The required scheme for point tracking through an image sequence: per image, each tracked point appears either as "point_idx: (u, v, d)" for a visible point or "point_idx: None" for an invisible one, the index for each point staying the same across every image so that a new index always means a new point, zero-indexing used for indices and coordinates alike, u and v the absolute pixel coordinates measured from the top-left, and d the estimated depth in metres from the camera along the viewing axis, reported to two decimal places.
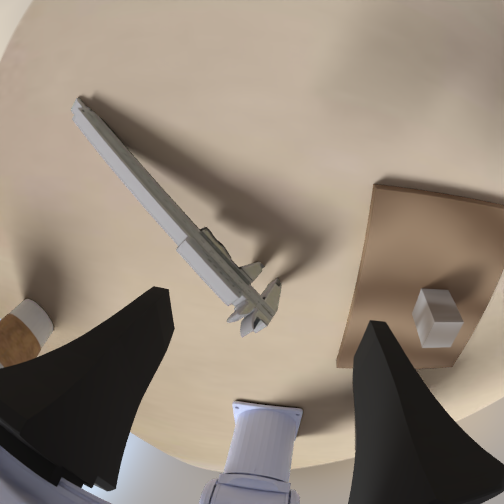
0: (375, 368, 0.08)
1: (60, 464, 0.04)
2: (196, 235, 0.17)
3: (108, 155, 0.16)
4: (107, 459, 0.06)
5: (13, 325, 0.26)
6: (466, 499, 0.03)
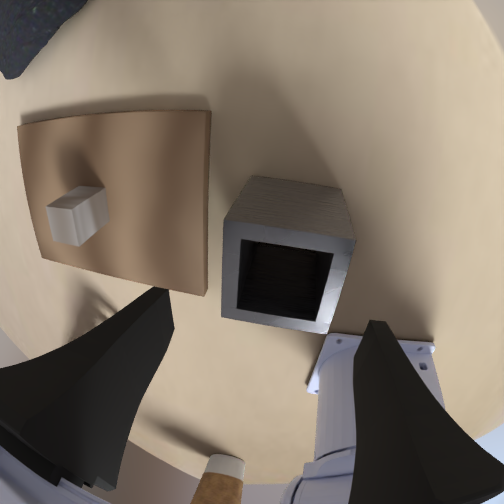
0: (375, 368, 0.08)
1: (60, 464, 0.04)
2: None
3: None
4: (107, 459, 0.06)
5: (202, 479, 0.35)
6: (466, 499, 0.03)
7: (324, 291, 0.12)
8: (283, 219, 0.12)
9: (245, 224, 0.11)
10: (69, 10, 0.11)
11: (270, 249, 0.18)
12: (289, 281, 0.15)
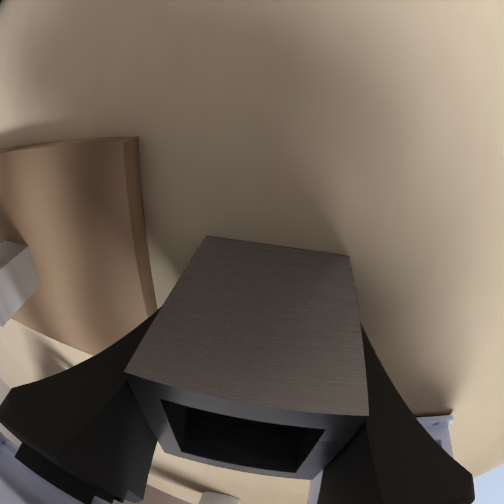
0: None
1: (95, 484, 0.04)
2: None
3: None
4: (137, 472, 0.06)
5: None
6: None
7: (308, 455, 0.06)
8: (233, 369, 0.06)
9: (160, 384, 0.05)
10: None
11: None
12: None
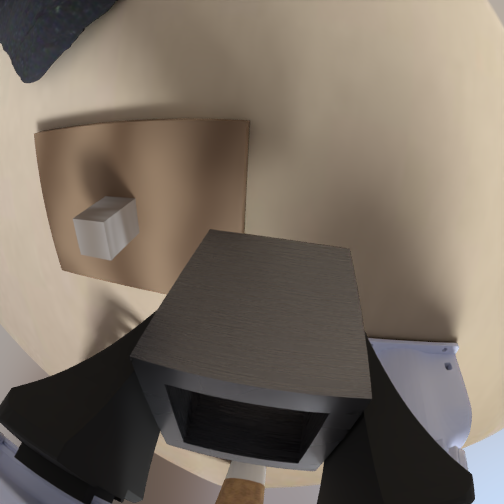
0: None
1: (95, 483, 0.04)
2: None
3: None
4: (137, 471, 0.06)
5: (224, 485, 0.35)
6: None
7: (311, 443, 0.06)
8: (237, 353, 0.06)
9: (165, 368, 0.06)
10: (96, 11, 0.11)
11: None
12: None
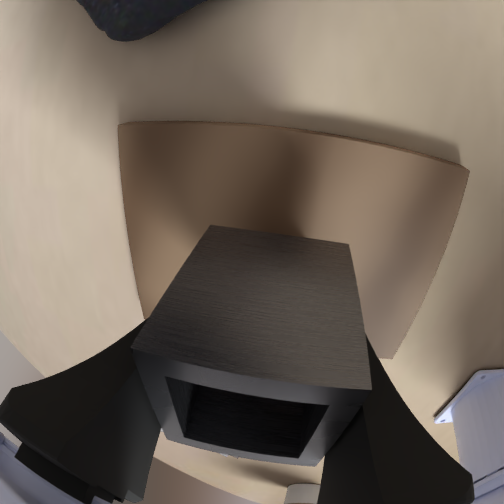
0: None
1: (95, 483, 0.04)
2: None
3: None
4: (137, 472, 0.06)
5: None
6: None
7: (311, 437, 0.07)
8: (237, 345, 0.06)
9: (166, 360, 0.06)
10: None
11: None
12: None
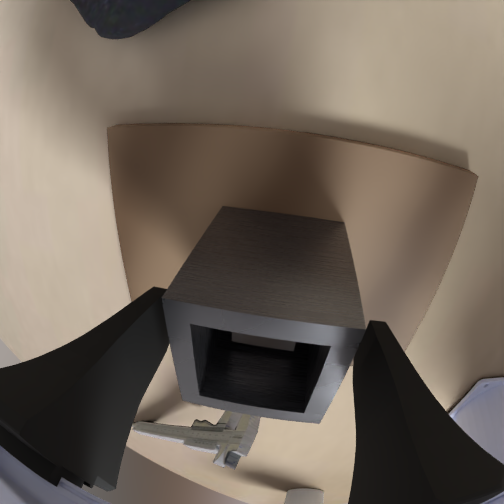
0: (375, 368, 0.08)
1: (60, 464, 0.04)
2: (189, 433, 0.21)
3: (152, 435, 0.25)
4: (107, 459, 0.06)
5: None
6: (466, 499, 0.03)
7: (316, 385, 0.08)
8: (253, 294, 0.07)
9: (193, 306, 0.07)
10: None
11: None
12: (273, 350, 0.11)
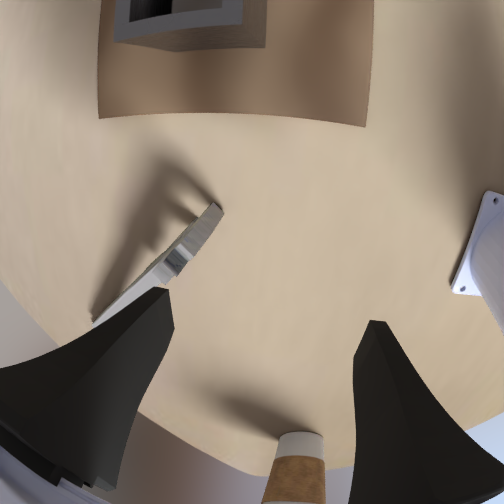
0: (375, 368, 0.08)
1: (60, 464, 0.04)
2: (139, 277, 0.19)
3: (107, 317, 0.24)
4: (107, 459, 0.06)
5: (275, 466, 0.29)
6: (466, 499, 0.03)
7: None
8: None
9: None
10: None
11: None
12: None
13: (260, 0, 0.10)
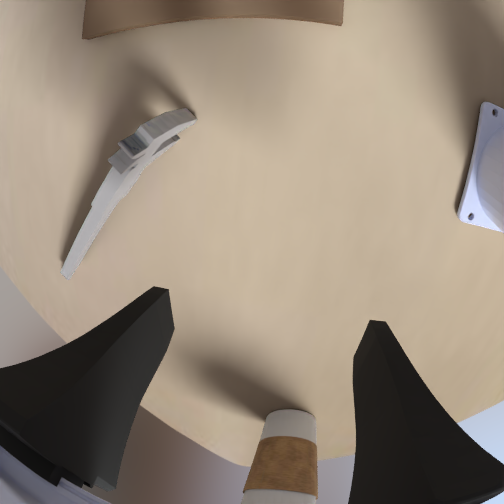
0: (375, 368, 0.08)
1: (60, 464, 0.04)
2: None
3: (73, 256, 0.21)
4: (107, 459, 0.06)
5: (260, 448, 0.26)
6: (466, 499, 0.03)
7: None
8: None
9: None
10: None
11: None
12: None
13: None
